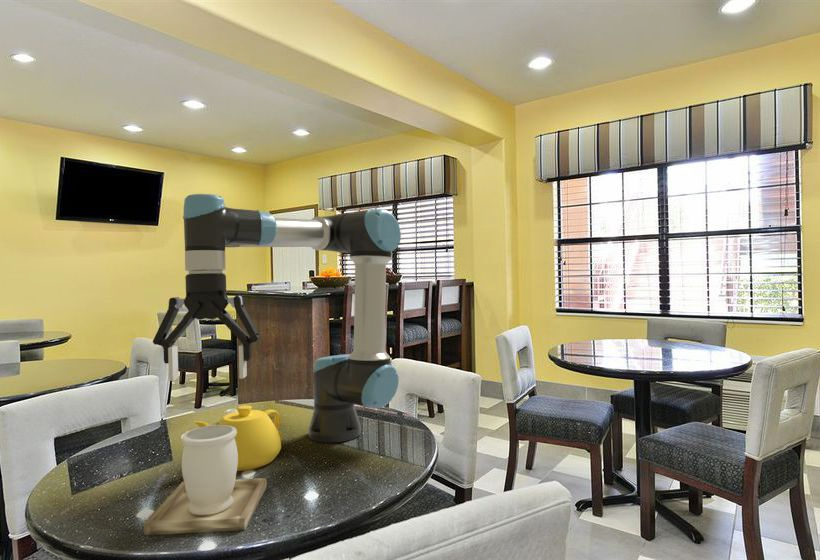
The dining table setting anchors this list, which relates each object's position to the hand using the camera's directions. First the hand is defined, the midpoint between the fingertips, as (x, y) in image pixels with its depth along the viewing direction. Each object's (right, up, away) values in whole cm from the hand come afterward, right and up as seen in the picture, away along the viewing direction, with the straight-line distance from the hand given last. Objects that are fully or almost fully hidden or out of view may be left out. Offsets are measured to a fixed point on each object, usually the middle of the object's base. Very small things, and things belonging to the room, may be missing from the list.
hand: (208, 378), depth 99 cm
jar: (0, -26, 0) cm, 26 cm away
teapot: (-2, -27, +26) cm, 37 cm away
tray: (0, -26, 0) cm, 26 cm away
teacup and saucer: (-15, -27, +59) cm, 66 cm away
